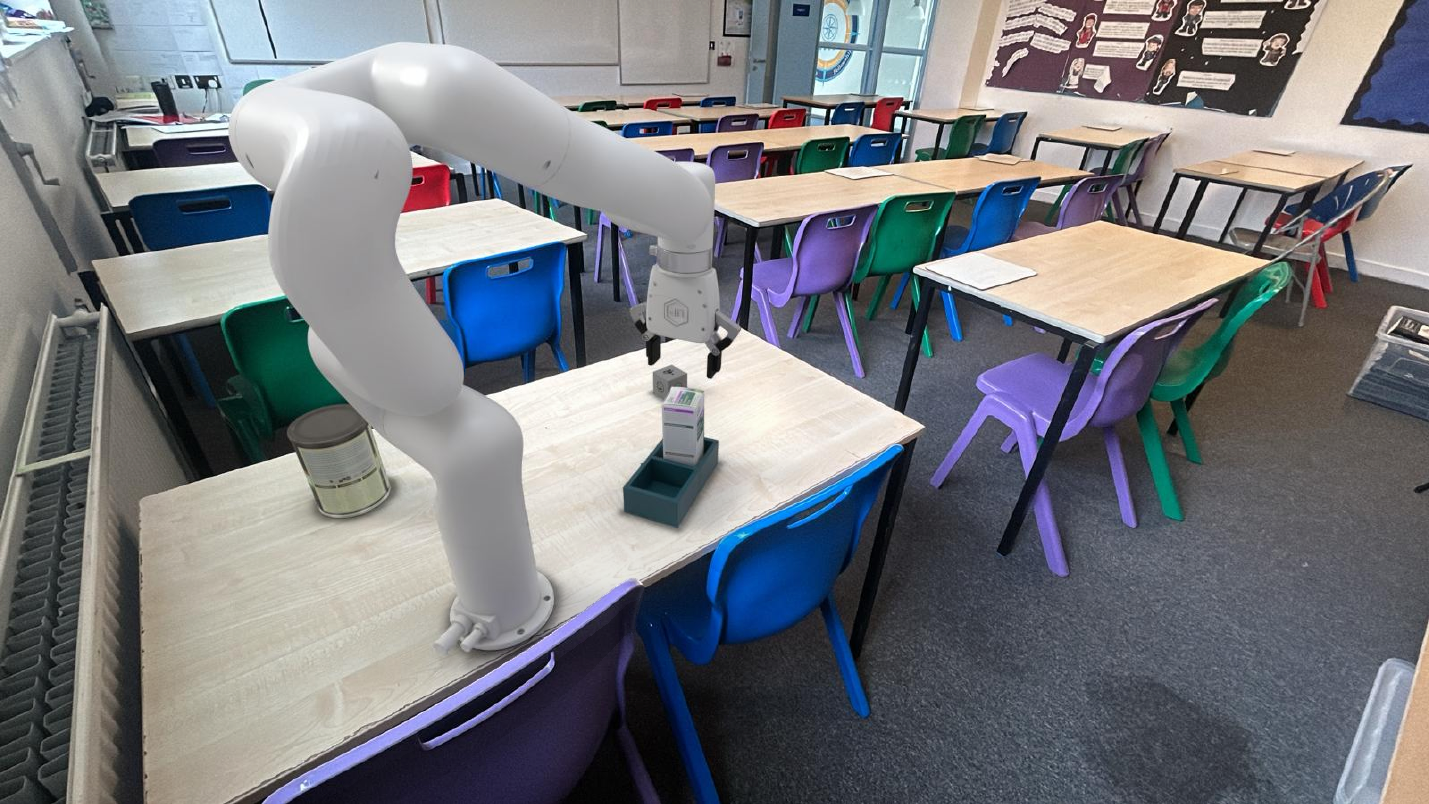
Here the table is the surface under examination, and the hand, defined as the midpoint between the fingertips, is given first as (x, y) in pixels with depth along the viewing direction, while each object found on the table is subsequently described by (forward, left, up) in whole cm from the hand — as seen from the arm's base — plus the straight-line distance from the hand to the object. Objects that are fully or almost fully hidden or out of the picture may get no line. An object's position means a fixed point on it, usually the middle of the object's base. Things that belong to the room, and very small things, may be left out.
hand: (682, 368), depth 92 cm
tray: (-4, 0, -20) cm, 21 cm away
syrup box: (0, 0, -20) cm, 20 cm away
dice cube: (+23, +13, -21) cm, 34 cm away
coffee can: (-26, +45, -21) cm, 56 cm away
